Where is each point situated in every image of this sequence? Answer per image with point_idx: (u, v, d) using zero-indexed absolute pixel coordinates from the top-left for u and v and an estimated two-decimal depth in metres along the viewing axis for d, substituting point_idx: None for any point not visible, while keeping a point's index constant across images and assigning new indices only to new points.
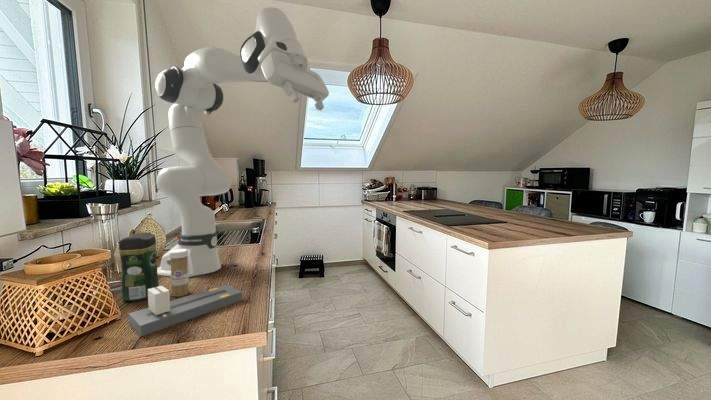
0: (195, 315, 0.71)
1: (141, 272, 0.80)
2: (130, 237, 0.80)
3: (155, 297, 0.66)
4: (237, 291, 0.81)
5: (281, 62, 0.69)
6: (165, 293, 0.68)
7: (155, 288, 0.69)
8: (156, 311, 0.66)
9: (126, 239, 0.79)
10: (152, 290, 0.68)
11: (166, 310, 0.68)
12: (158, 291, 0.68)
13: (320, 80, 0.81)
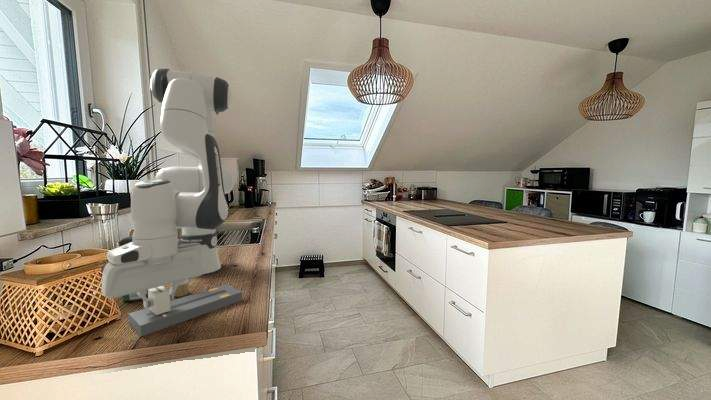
0: (195, 315, 0.71)
1: None
2: (130, 237, 0.80)
3: (155, 297, 0.66)
4: (237, 291, 0.81)
5: (126, 272, 0.62)
6: (165, 293, 0.68)
7: (155, 288, 0.69)
8: (156, 311, 0.66)
9: (126, 239, 0.79)
10: (152, 290, 0.68)
11: (166, 310, 0.68)
12: (158, 291, 0.68)
13: (195, 260, 0.73)
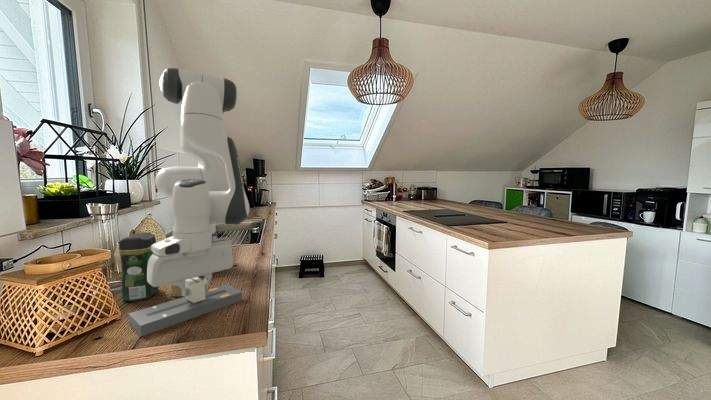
0: (195, 315, 0.71)
1: (141, 272, 0.80)
2: (130, 237, 0.80)
3: (193, 286, 0.73)
4: (237, 291, 0.81)
5: (169, 263, 0.69)
6: (201, 283, 0.74)
7: (191, 279, 0.76)
8: (194, 299, 0.73)
9: (126, 239, 0.79)
10: (189, 280, 0.75)
11: (202, 299, 0.74)
12: (195, 281, 0.74)
13: (226, 254, 0.80)
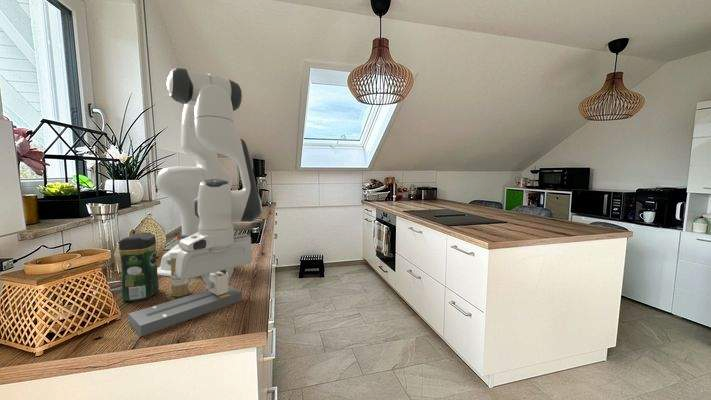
0: (195, 315, 0.71)
1: (141, 272, 0.80)
2: (130, 237, 0.80)
3: (217, 280, 0.77)
4: (237, 291, 0.81)
5: (196, 258, 0.74)
6: (224, 277, 0.79)
7: (214, 273, 0.81)
8: (217, 292, 0.78)
9: (126, 239, 0.79)
10: (213, 274, 0.80)
11: (225, 291, 0.79)
12: (218, 275, 0.79)
13: (246, 249, 0.85)
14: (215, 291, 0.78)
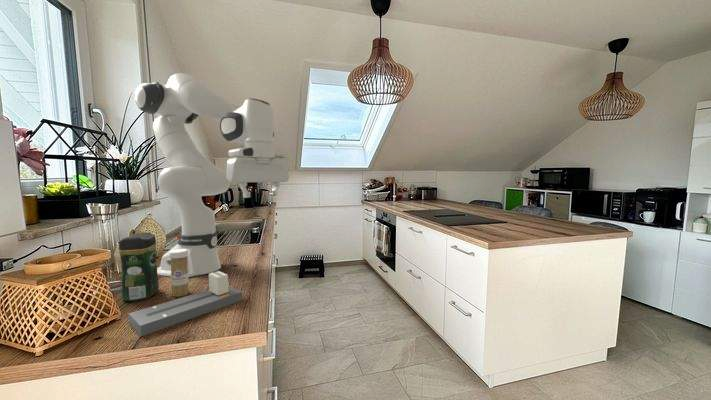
0: (195, 315, 0.71)
1: (141, 272, 0.80)
2: (130, 237, 0.80)
3: (217, 280, 0.78)
4: (237, 291, 0.81)
5: (244, 165, 0.83)
6: (225, 277, 0.79)
7: (215, 273, 0.81)
8: (218, 292, 0.78)
9: (126, 239, 0.79)
10: (213, 274, 0.80)
11: (225, 291, 0.79)
12: (219, 275, 0.79)
13: (284, 168, 0.94)
14: (215, 291, 0.78)
